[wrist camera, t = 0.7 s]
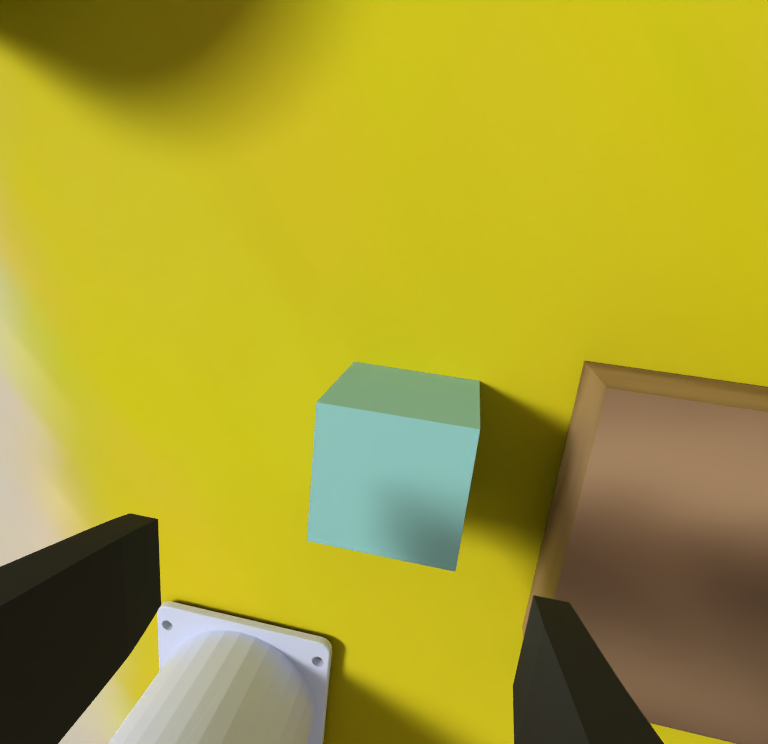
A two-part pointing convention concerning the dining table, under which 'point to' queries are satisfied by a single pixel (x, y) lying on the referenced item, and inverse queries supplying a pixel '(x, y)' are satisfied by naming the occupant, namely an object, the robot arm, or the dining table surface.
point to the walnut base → (668, 543)
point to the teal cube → (394, 463)
